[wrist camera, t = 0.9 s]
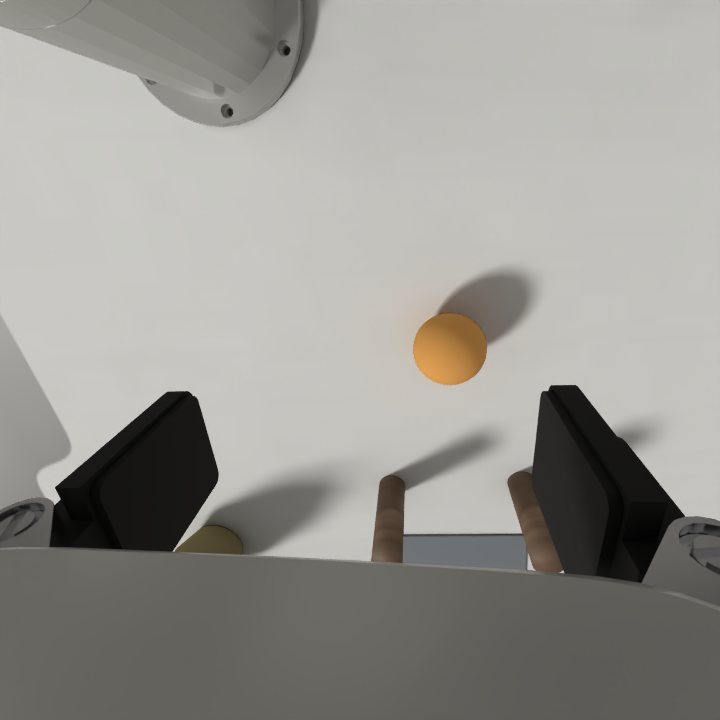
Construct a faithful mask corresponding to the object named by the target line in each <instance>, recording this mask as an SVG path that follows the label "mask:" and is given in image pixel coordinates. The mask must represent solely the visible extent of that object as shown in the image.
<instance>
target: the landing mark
mask: <svg viewBox="0 0 720 720" xmlns="http://www.w3.org/2000/svg"><path fill="white" fill-rule="evenodd" d="M403 563H410V564H428V565H446V566H465V567H482V568H498V569H515V570H526V543H525V540H524V536H523V535H403Z"/></svg>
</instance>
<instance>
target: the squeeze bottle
mask: <svg viewBox="0 0 720 720" xmlns="http://www.w3.org/2000/svg"><path fill="white" fill-rule="evenodd" d="M242 549H243V546H242V543H241V541H240V539H239V538H238V537H237V536H236V535H235V534H234V533H233V532H231V531H229V530H228V529H226V528H223V527H219V526H206V527H203V528H201V529H199V530H198V531H197V532H196V533H195V534H193V535H192V536H191V537H190V538H189V539H187V540H186V541H185V542H184V543H183V544H181V545H180V546H179V547H178V548H177V549H176V550H175V552H190V553H214V554H235V555H242Z"/></svg>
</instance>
